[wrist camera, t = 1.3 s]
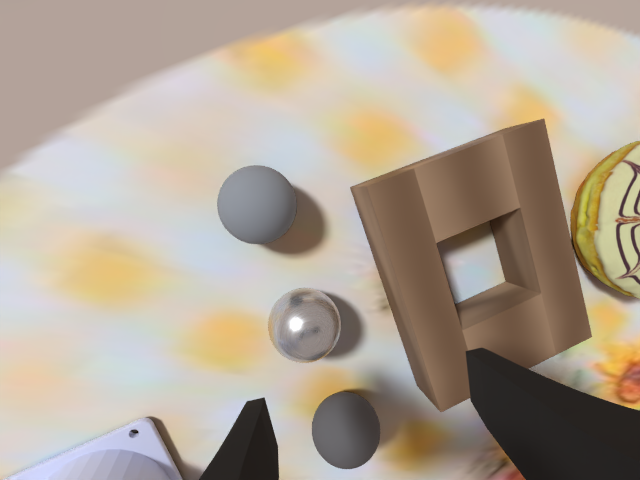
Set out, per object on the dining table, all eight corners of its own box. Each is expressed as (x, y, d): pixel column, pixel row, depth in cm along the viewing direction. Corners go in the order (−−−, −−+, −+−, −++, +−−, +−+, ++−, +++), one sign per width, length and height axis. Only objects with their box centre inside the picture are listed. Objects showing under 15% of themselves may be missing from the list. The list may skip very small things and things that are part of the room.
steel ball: (280, 354, 22) (287, 389, 18) (256, 296, 21) (258, 319, 17) (340, 328, 22) (360, 356, 18) (318, 270, 22) (334, 287, 18)
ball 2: (319, 448, 23) (334, 499, 19) (297, 395, 22) (308, 438, 18) (374, 420, 24) (400, 465, 20) (355, 369, 23) (378, 405, 19)
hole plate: (417, 385, 24) (440, 412, 21) (350, 187, 21) (366, 186, 18) (552, 320, 26) (591, 336, 23) (505, 128, 23) (544, 118, 20)
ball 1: (236, 249, 20) (234, 262, 16) (208, 182, 20) (199, 179, 16) (301, 224, 21) (314, 231, 17) (276, 158, 20) (284, 149, 16)
